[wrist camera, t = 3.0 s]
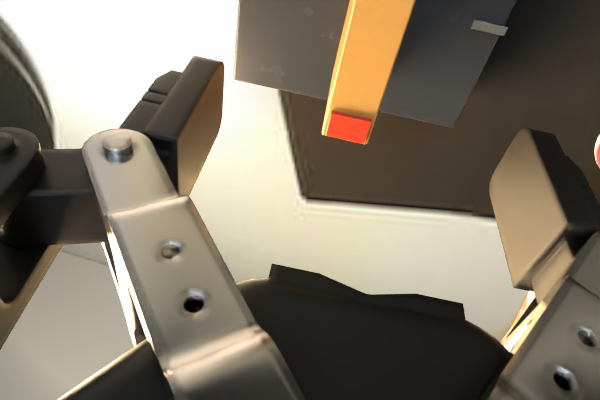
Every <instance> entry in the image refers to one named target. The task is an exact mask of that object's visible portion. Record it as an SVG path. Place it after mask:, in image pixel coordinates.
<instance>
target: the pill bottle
mask: <svg viewBox="0 0 600 400" xmlns="http://www.w3.org/2000/svg"><path fill="white" fill-rule="evenodd" d="M594 153H595V159H596V162H597V164H598V166H599V168H600V135H599V137H598V139H597V141H596V144H595V150H594Z"/></svg>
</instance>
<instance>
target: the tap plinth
mask: <svg viewBox="0 0 600 400" xmlns="http://www.w3.org/2000/svg"><path fill="white" fill-rule="evenodd" d="M516 1H517V0H416V1H415V4H414V7H413V10H412V13H411V16H410V19H409V22H408V25H407V28H406V31H405V34H404V37H403V40H402V43H401V46H400V49H399V52H398V55H397V58H396V61H395V64H394V67H393V69H392V72H391V75H390V78H389V81H388V84H387V87H386V90H385V93H384V96H383V99H382V102H381V105H380V108H379V112H384V113H388V114H393V115H398V116H402V117H407V118H411V119H416V120H420V121H425V122H429V123H434V124H438V125H443V126H447V127H452V128H454V127H455V125H456V123H457V121H458V119H459V117H460V115H461V113H462V111H463V109H464V107H465V105H466V103H467V101H468V99H469V97H470V95H471V93H472V90H473V88H474V86H475V84H476V82H477V80H478V78H479V76H480V74H481V72H482V70H483V68H484V66H485V64H486V62H487V60H488V58H489V56H490V54H491V52H492V50H493V48H494V46H495V44H496V42H497V39H498V37H499V35H502V36H504V35H505V33H506V31H507V29H508V27H507V26H504V25H505V23H506V21H507V19H508V17H509V15H510V13H511V11H512V9H513V7H514V5H515V3H516ZM349 2H350V0H239V8H238V23H237V37H236V52H235V67H234V79H235V80H239V81H244V82H248V83H253V84H257V85H262V86H266V87H271V88H276V89H280V90H285V91H289V92H294V93H298V94H303V95H307V96H312V97H316V98H321V99H325V100H328V96H329V90H330V85H331V79H332V74H333V69H334V65H335V61H336V57H337V52H338V48H339V44H340V40H341V35H342V31H343V27H344V23H345V19H346V14H347V10H348V6H349Z"/></svg>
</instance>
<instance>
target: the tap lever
mask: <svg viewBox="0 0 600 400" xmlns="http://www.w3.org/2000/svg"><path fill="white" fill-rule="evenodd" d="M415 1H416V0H350V2H349V6H348V10H347V14H346V19H345V23H344V27H343V31H342V35H341V40H340V44H339V48H338V52H337V57H336V61H335V65H334V69H333V74H332V79H331V85H330V90H329V96H328V101H327V107H326V112H325V118H324V123H323V129H322V135H325V136H330V137H334V138H339V139H343V140H348V141H352V142H357V143H361V144H367V143H368V141H369V138H370V135H371V132H372V129H373V126H374V123H375V120H376V117H377V114H378V111H379V108H380V105H381V102H382V99H383V96H384V93H385V90H386V87H387V84H388V81H389V78H390V75H391V72H392V69H393V67H394V64H395V61H396V58H397V55H398V52H399V49H400V46H401V43H402V40H403V37H404V34H405V31H406V28H407V25H408V22H409V19H410V16H411V13H412V10H413V7H414V4H415Z"/></svg>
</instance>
